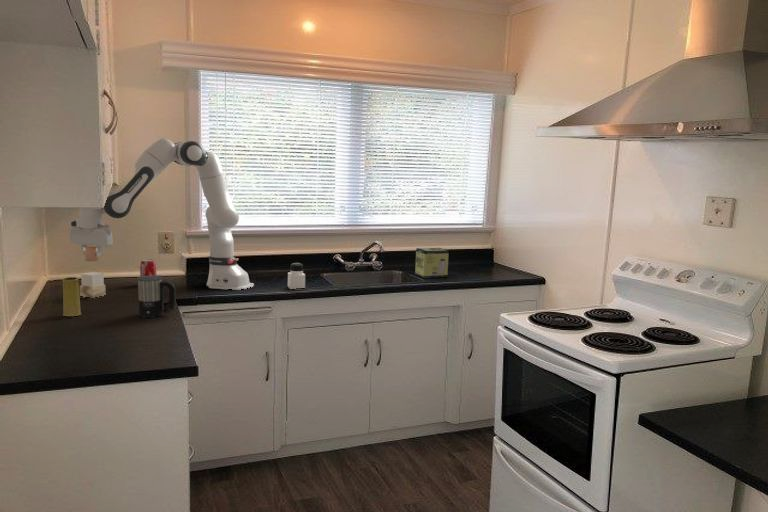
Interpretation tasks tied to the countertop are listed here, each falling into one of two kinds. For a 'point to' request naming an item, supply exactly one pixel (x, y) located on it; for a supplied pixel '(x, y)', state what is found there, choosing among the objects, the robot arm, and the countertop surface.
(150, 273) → the soda can
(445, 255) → the protein box
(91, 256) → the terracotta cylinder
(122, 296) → the countertop surface
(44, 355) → the countertop surface
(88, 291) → the tower base
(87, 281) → the tower top
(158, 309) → the milk frother
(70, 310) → the vase
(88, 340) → the countertop surface
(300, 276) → the medicine bottle
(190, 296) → the countertop surface
